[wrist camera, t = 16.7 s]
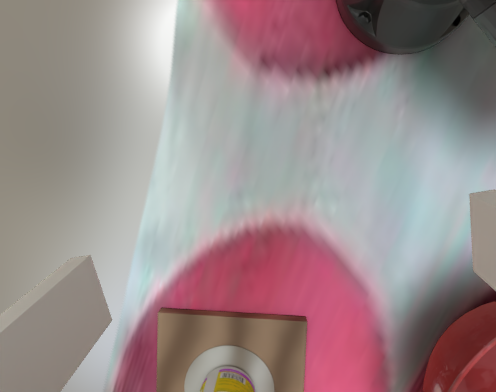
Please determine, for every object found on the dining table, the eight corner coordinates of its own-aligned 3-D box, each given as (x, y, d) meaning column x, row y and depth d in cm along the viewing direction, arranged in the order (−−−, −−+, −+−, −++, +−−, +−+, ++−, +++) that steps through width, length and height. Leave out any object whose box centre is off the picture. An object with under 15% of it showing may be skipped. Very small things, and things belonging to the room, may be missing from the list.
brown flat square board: (305, 316, 45) (307, 322, 43) (299, 454, 46) (300, 465, 44) (161, 307, 46) (157, 313, 44) (159, 443, 47) (155, 453, 46)
